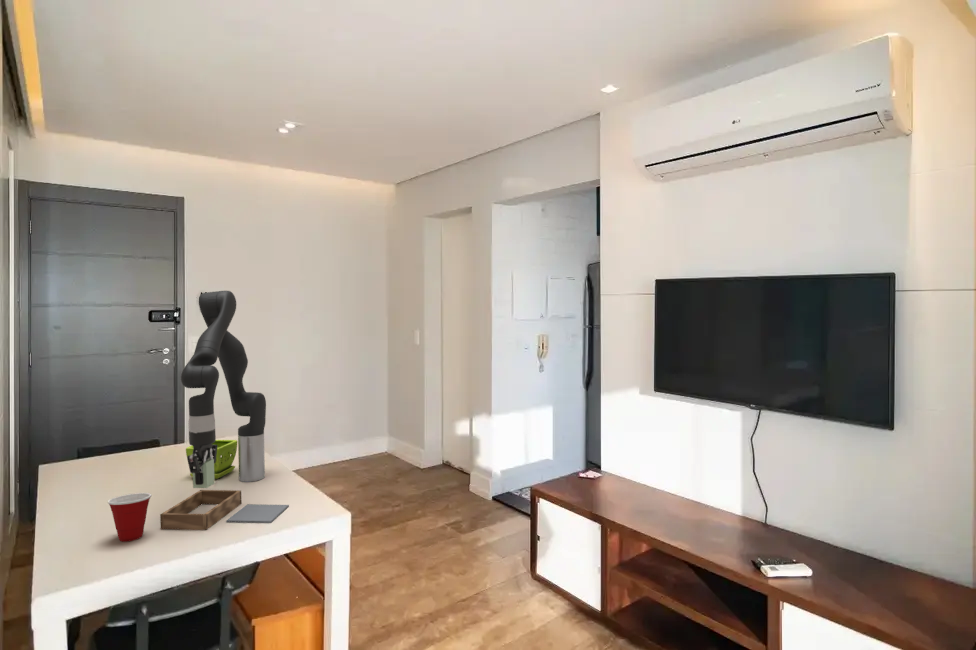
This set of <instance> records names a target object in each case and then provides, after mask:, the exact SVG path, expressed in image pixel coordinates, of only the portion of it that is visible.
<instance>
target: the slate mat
mask: <svg viewBox="0 0 976 650" xmlns="http://www.w3.org/2000/svg"><path fill="white" fill-rule="evenodd" d="M289 505H290V504H267V503H266V504H264V503H263V504H260V503H259V504H251V503H249V504H248V503H247V504H246V505H244V506H243V507H242V508H240V509H239V510H238V511H237V512H235V513H234V514H233V515H231V516H230V517H229V518H227V519H226V520H225V521H226V523H243V524H247V523H248V524H249V523H251V524H254V523H255V524H272V523H273V522H274V521H275V520H276V519H277V518H278V517H279V516H280V515H282V513H284V512H285V511H286V510H287V509H288V508H289Z"/></svg>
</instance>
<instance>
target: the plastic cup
mask: <svg viewBox="0 0 976 650" xmlns="http://www.w3.org/2000/svg"><path fill="white" fill-rule="evenodd" d="M151 497H152V494H151V493H149V492H135V493H128V494H123V495H119V496H115V497H112V498H110V499H108V500H106V501H107V504H108V506H110V510H111V513H112V518H113V522H114V526H115V529H116V533H117V538H118V540H119V541H120V542H133V541H136V540H139V539H141V538H142V537H143V534H144V530H145V525H146V518H147V513H148V507H149V502H150V499H151Z"/></svg>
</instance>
